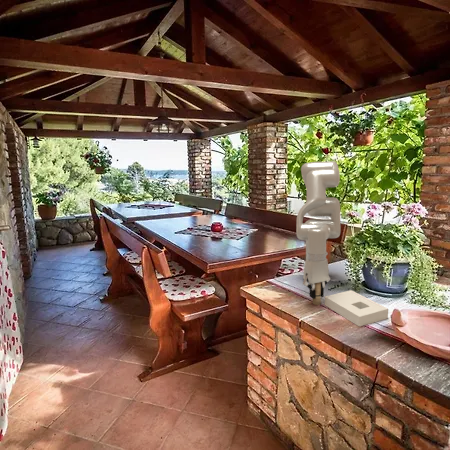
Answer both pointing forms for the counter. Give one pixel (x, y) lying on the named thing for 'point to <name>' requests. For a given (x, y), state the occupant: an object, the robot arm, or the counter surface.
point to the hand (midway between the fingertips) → (316, 296)
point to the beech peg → (317, 294)
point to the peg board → (356, 308)
